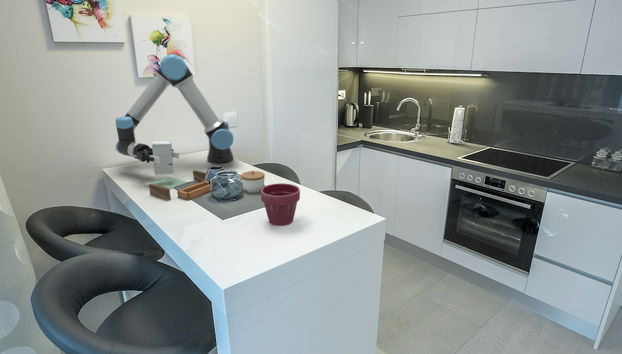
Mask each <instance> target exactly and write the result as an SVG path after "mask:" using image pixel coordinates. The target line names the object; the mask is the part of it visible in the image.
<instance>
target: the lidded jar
mask: <svg viewBox="0 0 622 354" xmlns="http://www.w3.org/2000/svg"><path fill="white" fill-rule="evenodd" d="M265 177H266V175H265V173H264V172H263V171H258V170H251V171H245V172H242V173H241V174H240V178H241V179H242V180H241V179H240V180H241V183H242V182H243V185H242V187H243V188H244V190H246V192H248V193H258V192H260V191H261V189H262V188H263V187H264V185H265Z"/></svg>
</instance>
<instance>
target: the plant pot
mask: <svg viewBox="0 0 622 354" xmlns="http://www.w3.org/2000/svg"><path fill="white" fill-rule="evenodd" d="M260 191H261V192H260V197H261V198H260V199H261V201H262V203H263V204H264V208H265V212H266V216H267V218H268V219H267V220H268V223H269V224H271V225H273V226H275V227H276V226H277V227H284V226H288V225H291V224H292V223H293V222H294V218H295V214H296V209H297V206H298V205H297V204H298V202H299V200H300V199H301V188H300V187H299V186H297V185H296V184H291V183H271V184H267V185H265V186H263V187H262V188H261V189H260Z"/></svg>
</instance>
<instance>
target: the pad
mask: <svg viewBox="0 0 622 354" xmlns="http://www.w3.org/2000/svg"><path fill="white" fill-rule="evenodd" d="M151 183H153V184H156V185H159V186H162V187H166V188H169V189H170V190H171V189H174V188H178V187H181V186H183V185H185V184H188V183H189V182H188V181H185V180H183V179H182V180H181V179H179V178H178V179H177V178H175V177H171V176H169V177H165V178H162V179H159V180H156V181H152V182H149V183H145V184H144V187H148V188H149V184H151Z"/></svg>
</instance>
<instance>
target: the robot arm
mask: <svg viewBox="0 0 622 354" xmlns="http://www.w3.org/2000/svg"><path fill="white" fill-rule="evenodd" d="M155 73H156V75H155V76H154V77H153V79H152V80H151V81H150V82H149V84H148V85H147V86H146V88H145V89H144V91H143V92H142V93H141V94H140V96H139V97H138V98H137V99H136V101H135V102H134V103H133V104H132V106H131V107H130V108H129V110H128V111H127V112H126V113H125V115H124V116H118V117H116V118H115V127H116V132H117V137H118V138H117V140H118V141H117V142H116V144H115V150H116V151H117V152H118V153H119V154H120V155H122V156H123V155H124V156H128V157H132V158H134V159H137V160H138V161H140V162H142V163H145V162H146V163H147V164H149V163H150V162H153V163H154V162H155V163H160V157H156V156H153V151H152V147H150V146H149V145H148V144H145V143H141V142H136V137H135V130H136V128H137V127H138V126H139V124H140V123H141V121H142V120H143V119H144V118H145V117H146V115H147V114H148V112H149V111H150V110H151V109H152V107H153V106H154V105H155V103H157V101H158V100H159V98H160V97H161V96H162V95H163V93H164V92H165V91H166V89H167V88H168V87H169V85H170V86H172V88H176V89H178V91H179V92H180V94H181V96H182V97H183V98H184V100H185V101H186V102H187V104H188V105H189V107H190V108H191V110H192V111H193V112H194V114H195V115H196V117H197V118H198V120H199V121H200V123H201V124H202V125H203V128H204V130H203V132H204V134H205V135H206V136H207V138H208V146H209V147H208V148H209V149H208V152H207V156H206V159H207V162H209V163H210V164H211V163H212V164H224V163H226V164H227V163H229V162H232V161H234V154H233V152H232V150H231V146H232V145H233V143H234V134H233V132H232V131H230V129H229V128H230V127H229V122H228V121H224V120H222V119H219V117H218V116H217V114H216V113H215V112H214V110H213V109H212V107H211V106H210V104H209V102H208V101H207V100H206V98H205V97H204V95H203V94H202V92H201V91H200V89H199V87H198V86H197V85H196V82H195V81H194V80H193V76H194V75H193V73H192V72H191V70H190V68H189V67H188V65H187V63H186V61H185V60H184V59H183V58H182V57H181V56H180V55H177V54H174V53H173V54H172V53H171V54H170V53H169V54H167V55H165V56H163V57H162V59H161V60H160V64H159V67H158V68H157V70H156V72H155ZM179 154H180V153H179V151H178V152H177V151H174V149H173V148H172V156H173V159H174V158H175V159H180V155H179Z"/></svg>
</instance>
